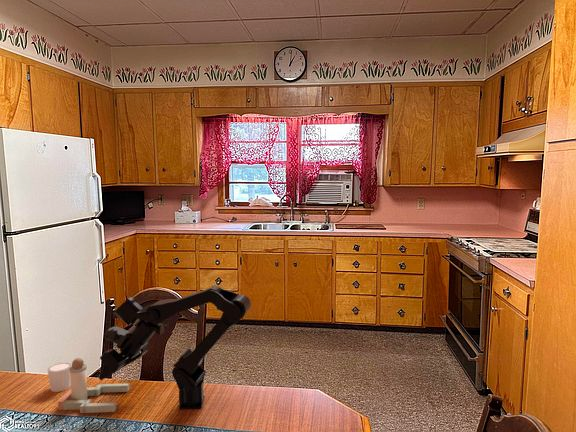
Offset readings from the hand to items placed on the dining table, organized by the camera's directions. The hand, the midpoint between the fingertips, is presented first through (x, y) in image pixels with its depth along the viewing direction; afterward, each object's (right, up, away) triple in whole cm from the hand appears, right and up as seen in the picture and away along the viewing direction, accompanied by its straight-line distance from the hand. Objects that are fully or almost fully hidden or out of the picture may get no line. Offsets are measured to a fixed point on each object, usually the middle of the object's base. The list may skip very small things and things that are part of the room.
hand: (108, 373), depth 124 cm
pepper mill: (-9, -9, 0) cm, 12 cm away
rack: (-4, -8, 0) cm, 9 cm away
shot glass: (-20, -8, +9) cm, 23 cm away
